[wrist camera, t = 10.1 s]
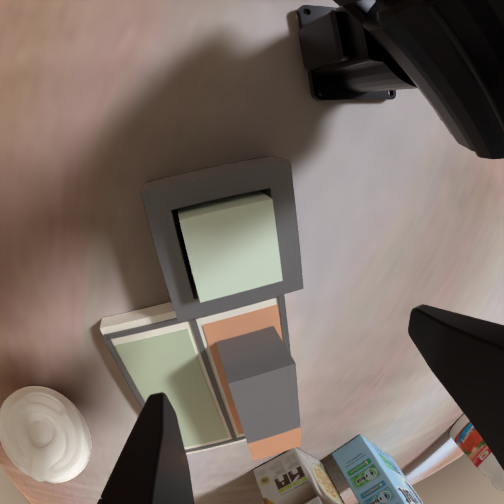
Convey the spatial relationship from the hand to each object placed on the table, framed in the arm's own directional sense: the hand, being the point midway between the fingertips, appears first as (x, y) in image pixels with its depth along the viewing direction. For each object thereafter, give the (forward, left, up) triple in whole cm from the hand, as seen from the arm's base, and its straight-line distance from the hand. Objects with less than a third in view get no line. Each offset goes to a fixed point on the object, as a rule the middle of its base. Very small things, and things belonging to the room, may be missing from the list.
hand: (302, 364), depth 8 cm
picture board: (+3, +12, -12) cm, 17 cm away
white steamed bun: (+18, +11, -12) cm, 24 cm away
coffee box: (-2, +32, -12) cm, 34 cm away
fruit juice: (-42, +53, -12) cm, 69 cm away
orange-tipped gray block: (0, +12, -11) cm, 16 cm away
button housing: (0, 0, -12) cm, 12 cm away
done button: (0, 0, -10) cm, 10 cm away
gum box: (-14, +40, -12) cm, 44 cm away
